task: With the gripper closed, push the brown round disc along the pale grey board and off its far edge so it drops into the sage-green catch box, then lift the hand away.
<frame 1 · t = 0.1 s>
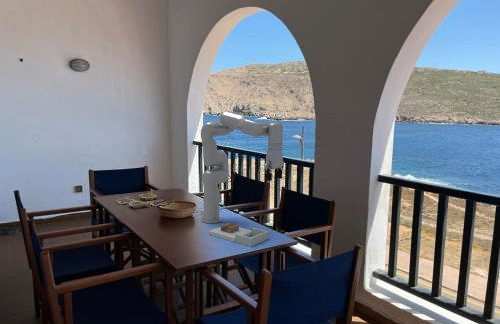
hand: (274, 179, 197), 31 cm above the table, tool pointing down, fingers open, 9 cm apart
brown round disc: (229, 230, 203), point 2 cm above the table, touching board
catch box: (251, 240, 195), on the table
board: (231, 234, 203), on the table
tableware set: (142, 204, 267), on the table
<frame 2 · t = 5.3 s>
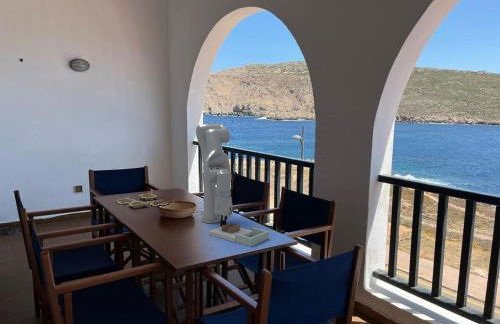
hand: (223, 226, 206), 3 cm above the table, tool pointing down, fingers closed
brown round disc: (230, 230, 203), point 2 cm above the table, touching board, gripper
everything else where it was.
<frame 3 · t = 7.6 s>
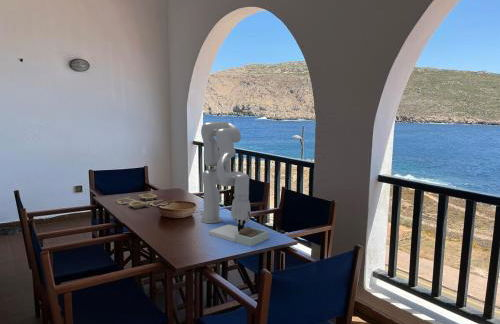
hand: (240, 231, 199), 3 cm above the table, tool pointing down, fingers closed
brown round disc: (247, 236, 197), point 1 cm above the table, tilted 22°, touching board, gripper
everything else where it was.
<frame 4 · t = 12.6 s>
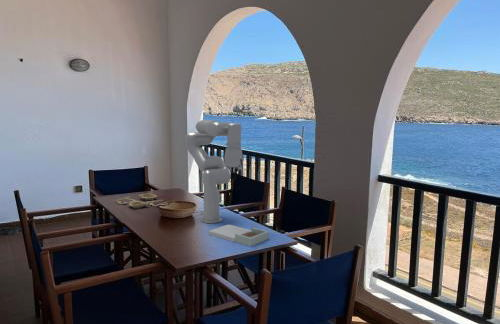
hand: (233, 179, 206), 29 cm above the table, tool pointing down, fingers closed
brown round disc: (250, 240, 196), on the table
everything else where it was.
at the end: brown round disc inside the target area on the catch box (1.1 cm from its centre), point 0.0 cm above the catch box's base; brown round disc touching table; brown round disc moved 13.9 cm from its start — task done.
